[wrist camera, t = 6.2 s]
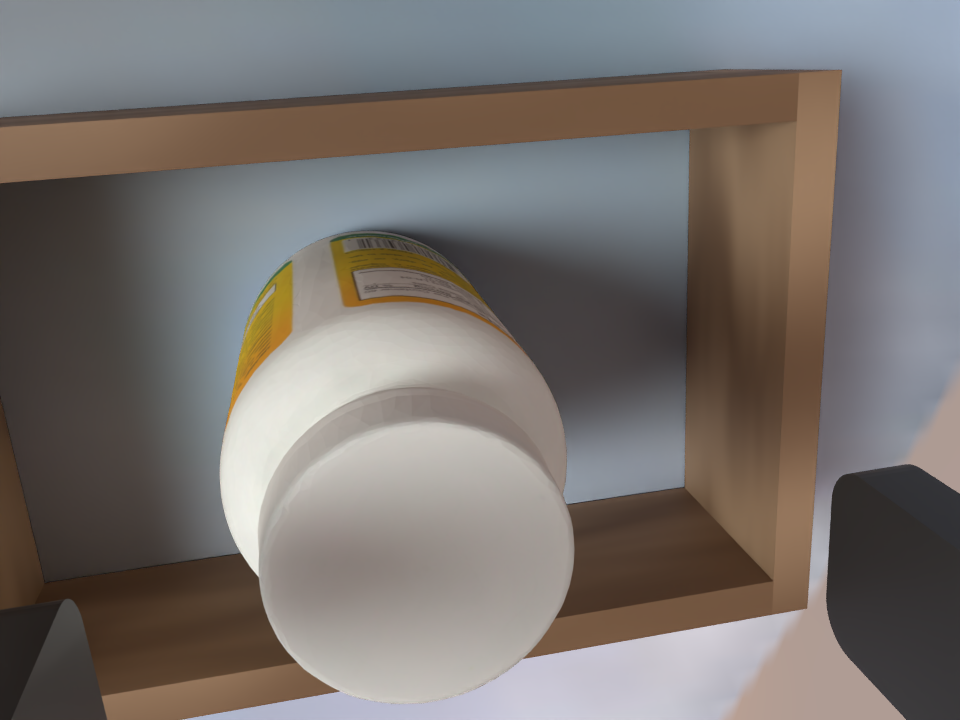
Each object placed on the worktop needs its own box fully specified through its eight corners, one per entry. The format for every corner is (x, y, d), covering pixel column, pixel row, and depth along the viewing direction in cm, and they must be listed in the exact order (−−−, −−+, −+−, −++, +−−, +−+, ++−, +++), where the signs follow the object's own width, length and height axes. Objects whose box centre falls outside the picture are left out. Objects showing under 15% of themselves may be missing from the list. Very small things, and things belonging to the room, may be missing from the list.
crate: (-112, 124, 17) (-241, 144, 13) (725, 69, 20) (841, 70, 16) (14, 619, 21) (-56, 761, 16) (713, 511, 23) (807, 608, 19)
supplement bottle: (424, 185, 19) (542, 286, 11) (519, 395, 21) (687, 632, 12) (192, 295, 19) (112, 494, 10) (310, 497, 21) (328, 815, 12)
